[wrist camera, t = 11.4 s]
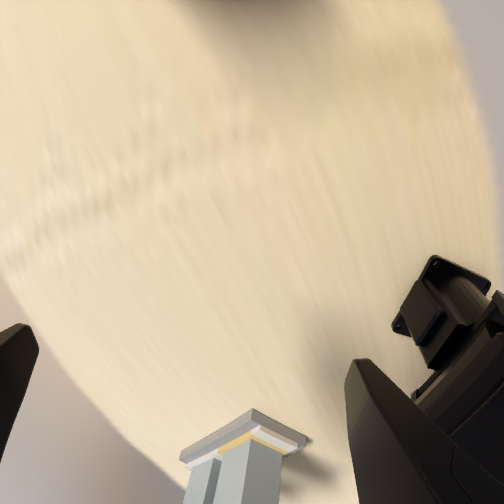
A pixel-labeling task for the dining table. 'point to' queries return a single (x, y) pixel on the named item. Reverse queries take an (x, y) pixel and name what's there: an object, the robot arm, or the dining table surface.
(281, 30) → the dining table surface
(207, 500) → the block
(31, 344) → the robot arm
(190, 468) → the rail board
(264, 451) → the block
